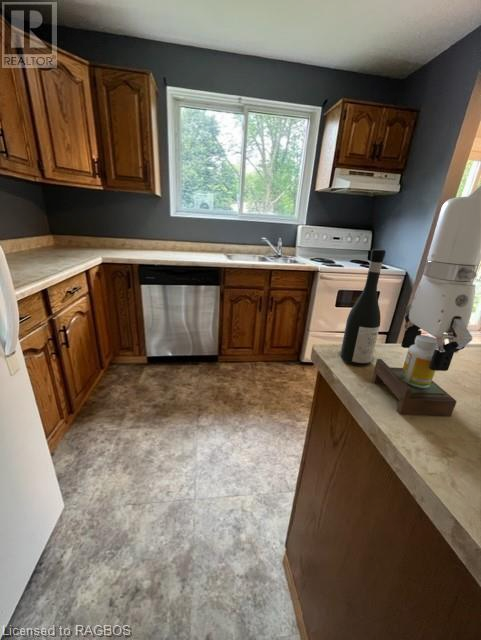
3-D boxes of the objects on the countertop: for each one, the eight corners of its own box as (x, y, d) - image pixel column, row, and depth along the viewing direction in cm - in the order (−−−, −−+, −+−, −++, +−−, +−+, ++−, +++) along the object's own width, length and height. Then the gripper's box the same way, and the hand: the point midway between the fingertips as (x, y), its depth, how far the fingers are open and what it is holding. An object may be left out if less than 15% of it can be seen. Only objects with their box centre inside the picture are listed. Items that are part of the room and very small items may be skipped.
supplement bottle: (436, 386, 55) (451, 342, 52) (418, 391, 53) (432, 346, 50) (411, 372, 60) (424, 332, 56) (394, 376, 58) (406, 335, 54)
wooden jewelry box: (412, 386, 64) (420, 360, 62) (448, 422, 53) (460, 392, 50) (370, 385, 64) (377, 358, 61) (397, 420, 53) (407, 389, 50)
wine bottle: (377, 364, 73) (405, 251, 63) (356, 370, 70) (382, 251, 60) (353, 352, 80) (376, 247, 70) (333, 356, 77) (353, 247, 66)
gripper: (515, 284, 40) (475, 382, 46) (436, 265, 57) (415, 340, 63) (465, 281, 40) (431, 381, 46) (401, 264, 57) (382, 339, 63)
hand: (422, 357), depth 55 cm, fingers open, 8 cm apart
